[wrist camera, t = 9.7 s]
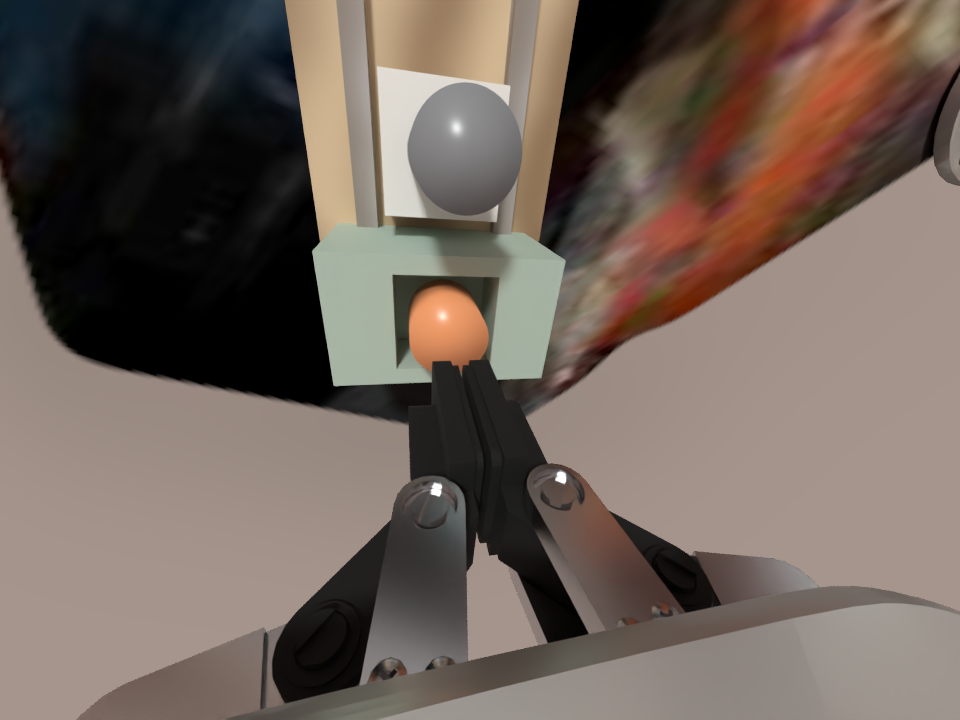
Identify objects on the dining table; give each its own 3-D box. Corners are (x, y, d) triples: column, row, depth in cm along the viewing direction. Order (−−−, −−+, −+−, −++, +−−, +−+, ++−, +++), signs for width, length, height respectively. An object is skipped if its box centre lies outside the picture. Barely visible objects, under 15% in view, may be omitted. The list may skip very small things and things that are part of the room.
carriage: (493, 96, 16) (575, 45, 8) (483, 212, 18) (540, 254, 11) (381, 81, 15) (358, 6, 7) (387, 206, 17) (375, 248, 10)
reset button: (478, 279, 16) (492, 304, 13) (473, 341, 17) (485, 373, 15) (407, 277, 15) (408, 303, 13) (409, 342, 17) (410, 375, 14)
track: (599, -214, 13) (656, -321, 10) (518, 318, 24) (534, 341, 21) (246, -338, 11) (186, -528, 8) (337, 318, 22) (326, 344, 19)
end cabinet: (516, 228, 21) (565, 260, 15) (504, 318, 24) (541, 378, 18) (334, 217, 19) (300, 250, 12) (347, 318, 22) (324, 386, 15)
